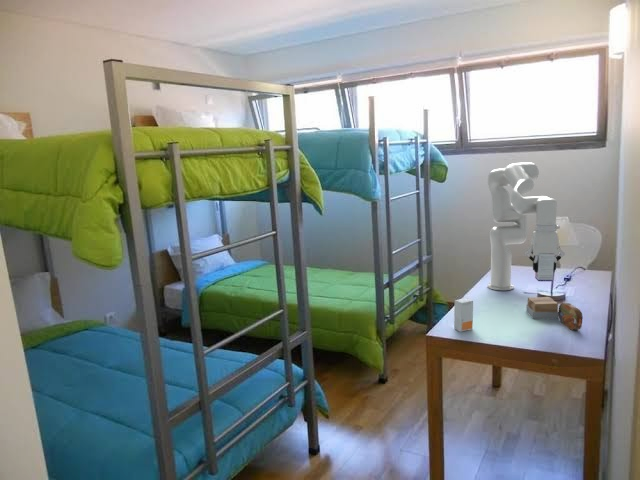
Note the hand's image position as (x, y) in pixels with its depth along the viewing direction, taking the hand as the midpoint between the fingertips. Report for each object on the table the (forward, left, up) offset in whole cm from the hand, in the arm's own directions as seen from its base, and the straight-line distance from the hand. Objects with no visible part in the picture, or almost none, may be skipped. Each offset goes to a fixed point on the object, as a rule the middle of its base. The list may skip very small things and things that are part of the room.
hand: (544, 271), depth 199 cm
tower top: (0, 0, -16) cm, 16 cm away
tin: (+12, +7, -19) cm, 24 cm away
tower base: (-1, 0, -20) cm, 20 cm away
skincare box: (+18, -34, -19) cm, 43 cm away
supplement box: (0, 0, -4) cm, 4 cm away
